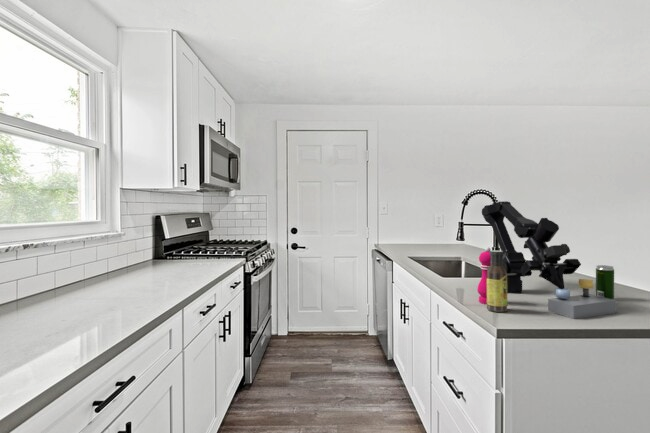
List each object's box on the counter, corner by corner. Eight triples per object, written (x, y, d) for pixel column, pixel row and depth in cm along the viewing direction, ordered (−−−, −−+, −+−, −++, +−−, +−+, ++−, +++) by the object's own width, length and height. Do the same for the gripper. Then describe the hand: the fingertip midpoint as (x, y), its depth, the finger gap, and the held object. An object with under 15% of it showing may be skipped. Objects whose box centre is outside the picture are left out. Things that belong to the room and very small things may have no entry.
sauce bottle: (508, 313, 122) (507, 252, 122) (487, 312, 125) (486, 251, 124) (506, 308, 128) (506, 250, 128) (486, 307, 130) (486, 249, 130)
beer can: (610, 301, 134) (610, 268, 133) (593, 298, 138) (593, 266, 138) (616, 299, 137) (616, 266, 136) (599, 296, 141) (599, 264, 141)
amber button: (580, 298, 125) (580, 280, 125) (577, 295, 129) (577, 278, 129) (594, 299, 124) (594, 281, 124) (590, 296, 128) (590, 279, 127)
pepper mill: (498, 300, 139) (497, 246, 138) (500, 305, 132) (500, 248, 131) (476, 299, 141) (476, 245, 140) (478, 304, 134) (477, 248, 134)
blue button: (557, 308, 122) (557, 290, 122) (554, 305, 126) (554, 287, 126) (571, 309, 121) (571, 291, 121) (568, 305, 125) (568, 288, 124)
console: (573, 318, 116) (573, 305, 115) (548, 311, 124) (548, 299, 124) (616, 312, 121) (616, 300, 121) (588, 305, 130) (588, 293, 129)
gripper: (525, 236, 127) (548, 275, 116) (576, 235, 129) (603, 273, 118) (511, 256, 135) (531, 294, 125) (560, 255, 137) (584, 292, 126)
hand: (562, 288), depth 123 cm, fingers closed, pressing on blue button
